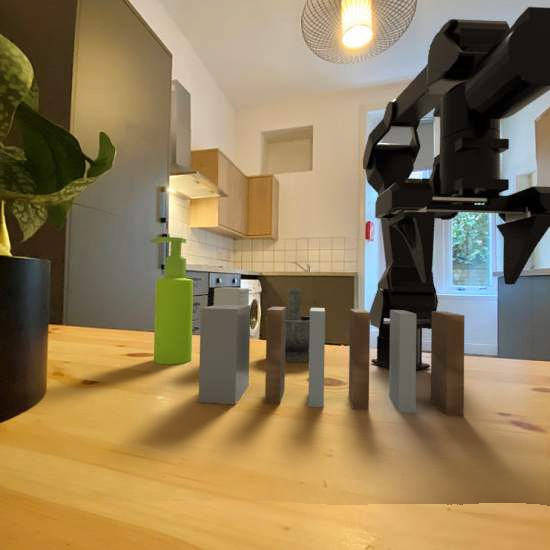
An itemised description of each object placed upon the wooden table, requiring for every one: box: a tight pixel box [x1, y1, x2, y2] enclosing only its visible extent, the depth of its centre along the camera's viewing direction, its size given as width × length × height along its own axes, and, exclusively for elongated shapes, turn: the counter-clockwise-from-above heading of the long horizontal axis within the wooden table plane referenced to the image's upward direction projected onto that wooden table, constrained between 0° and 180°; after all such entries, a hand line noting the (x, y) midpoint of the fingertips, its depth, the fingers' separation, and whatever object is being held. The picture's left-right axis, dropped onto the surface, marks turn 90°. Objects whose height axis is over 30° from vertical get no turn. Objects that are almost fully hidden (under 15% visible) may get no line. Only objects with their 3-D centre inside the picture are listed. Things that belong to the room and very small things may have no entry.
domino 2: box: [307, 307, 326, 408], centre depth 39 cm, size 2×5×10 cm, turn 172°
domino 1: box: [264, 306, 287, 405], centre depth 39 cm, size 2×5×10 cm, turn 173°
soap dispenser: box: [150, 236, 194, 365], centre depth 57 cm, size 6×7×20 cm
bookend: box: [198, 304, 251, 405], centre depth 40 cm, size 4×7×10 cm, turn 173°
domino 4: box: [388, 310, 417, 414], centre depth 38 cm, size 2×5×10 cm, turn 173°
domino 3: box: [348, 308, 371, 411], centre depth 38 cm, size 2×5×10 cm, turn 173°
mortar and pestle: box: [264, 287, 310, 363], centre depth 61 cm, size 11×9×12 cm
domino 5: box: [430, 310, 465, 417], centre depth 37 cm, size 2×5×10 cm, turn 173°
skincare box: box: [213, 287, 250, 306], centre depth 57 cm, size 6×4×12 cm
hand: (468, 283), depth 37 cm, fingers open, 9 cm apart
